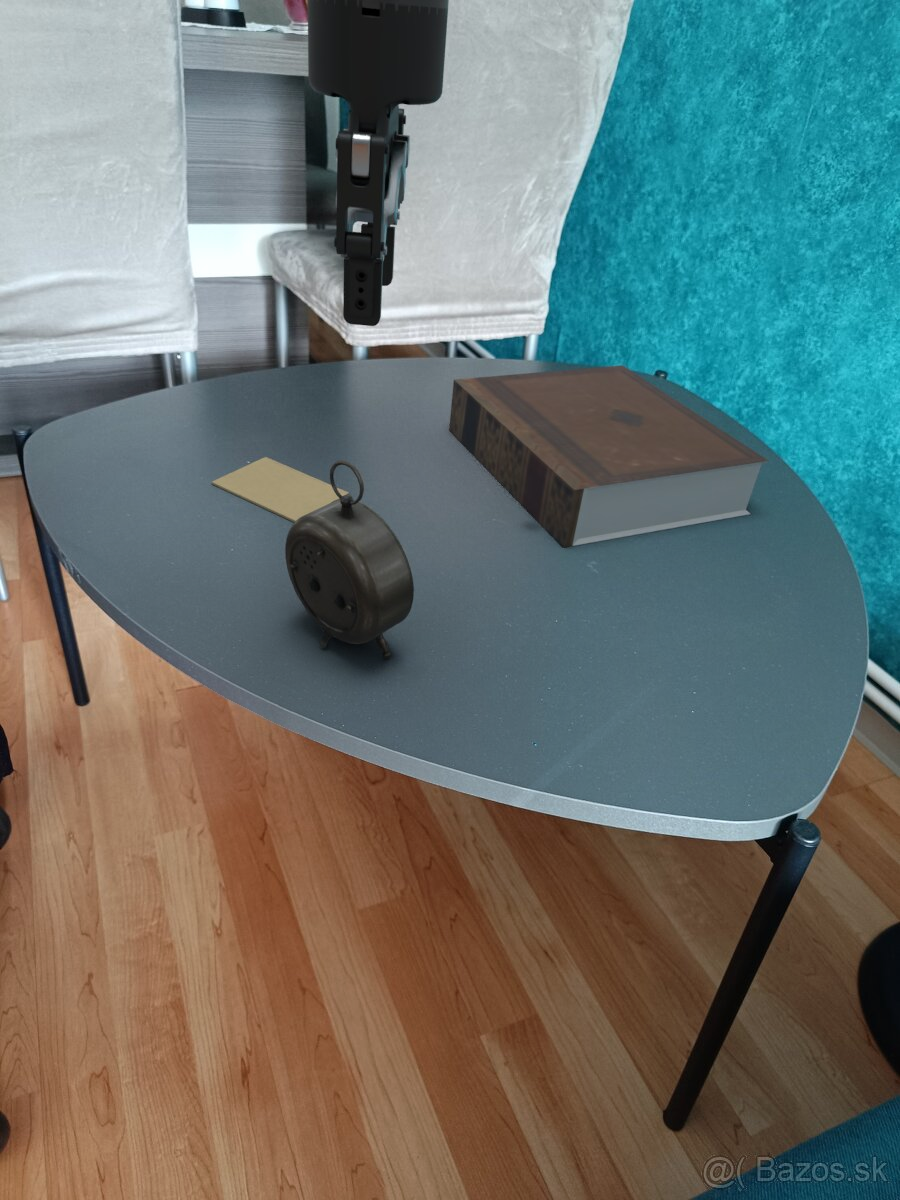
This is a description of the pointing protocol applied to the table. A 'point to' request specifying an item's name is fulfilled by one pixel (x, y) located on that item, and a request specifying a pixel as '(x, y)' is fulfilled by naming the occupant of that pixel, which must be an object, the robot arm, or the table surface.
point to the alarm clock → (349, 570)
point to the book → (601, 452)
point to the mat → (279, 488)
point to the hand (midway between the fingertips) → (369, 302)
